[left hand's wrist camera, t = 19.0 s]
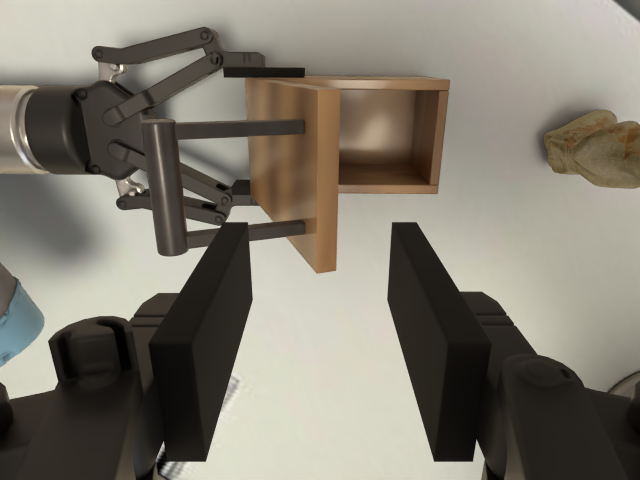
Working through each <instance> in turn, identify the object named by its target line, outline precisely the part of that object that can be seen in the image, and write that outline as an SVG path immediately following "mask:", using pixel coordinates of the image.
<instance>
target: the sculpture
mask: <svg viewBox="0 0 640 480" xmlns="http://www.w3.org/2000/svg"><path fill="white" fill-rule="evenodd" d="M544 145H545V147H546V148H547V150H548V155H547V160H548V163H549V165H550V166H551V167H552V170H553V171H554V172H556V173H560V174H580V175H582V176H583V177H584V178H585V179H587V180H588V181H589V182H591V183H592V184H594V185H596V186H600V187H610V188H629V189H630V188H638V187H640V125H639V124H638V123H637V122H634V121H626V122H621V123H617V118H616V116H615V114H613V113H612V112H611V111H608V110H597V111H593V112H590V113H588V114H585V115H583V116H581V117H579V118H577V119H576V120H574V121H572V122H570V123H568V124H567V125H565V126H563V127H561V128H559V129H556V130H552V131H549V132H547V133H546V134H545V135H544Z"/></svg>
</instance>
